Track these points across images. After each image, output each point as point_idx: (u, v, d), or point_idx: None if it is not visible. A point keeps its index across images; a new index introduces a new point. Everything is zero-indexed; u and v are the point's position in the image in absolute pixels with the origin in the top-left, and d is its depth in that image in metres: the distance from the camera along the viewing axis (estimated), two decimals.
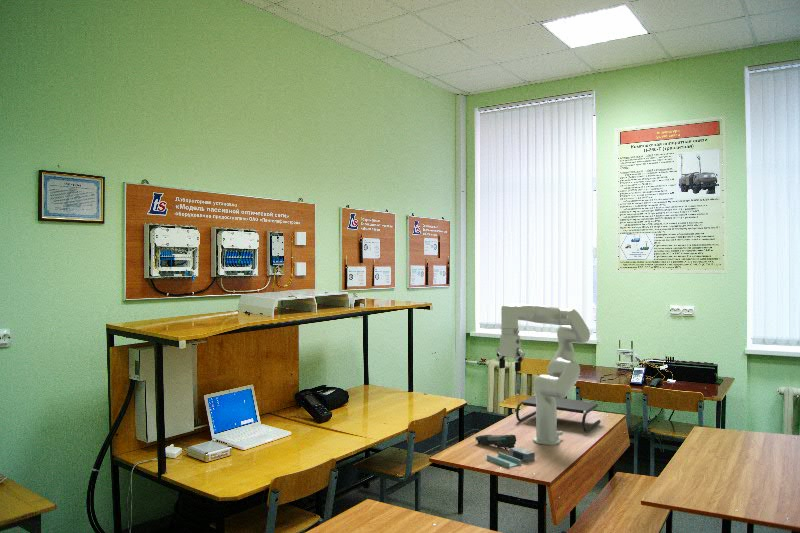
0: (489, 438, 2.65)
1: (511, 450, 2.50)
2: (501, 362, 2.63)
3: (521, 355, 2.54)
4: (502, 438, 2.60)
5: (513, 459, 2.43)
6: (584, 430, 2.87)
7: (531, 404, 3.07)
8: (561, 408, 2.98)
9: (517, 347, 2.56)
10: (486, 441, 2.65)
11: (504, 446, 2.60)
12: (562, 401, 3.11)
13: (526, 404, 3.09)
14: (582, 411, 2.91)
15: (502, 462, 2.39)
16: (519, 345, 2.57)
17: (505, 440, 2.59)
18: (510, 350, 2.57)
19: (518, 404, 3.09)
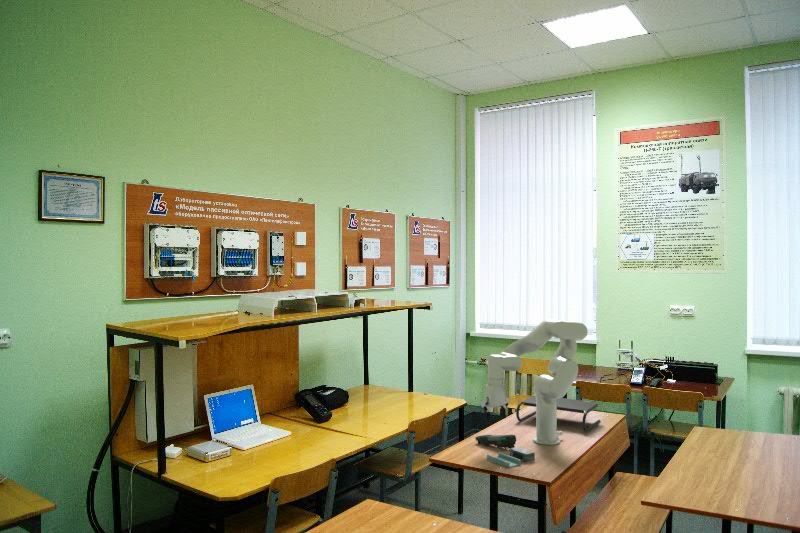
0: (489, 438, 2.65)
1: (511, 450, 2.50)
2: None
3: (507, 401, 2.68)
4: (502, 438, 2.60)
5: (513, 459, 2.43)
6: (584, 430, 2.88)
7: (531, 404, 3.07)
8: (561, 408, 2.98)
9: None
10: (486, 441, 2.65)
11: (504, 446, 2.60)
12: (562, 401, 3.12)
13: (526, 404, 3.09)
14: (582, 411, 2.92)
15: (502, 462, 2.39)
16: None
17: (505, 440, 2.59)
18: (502, 399, 2.64)
19: (518, 404, 3.09)
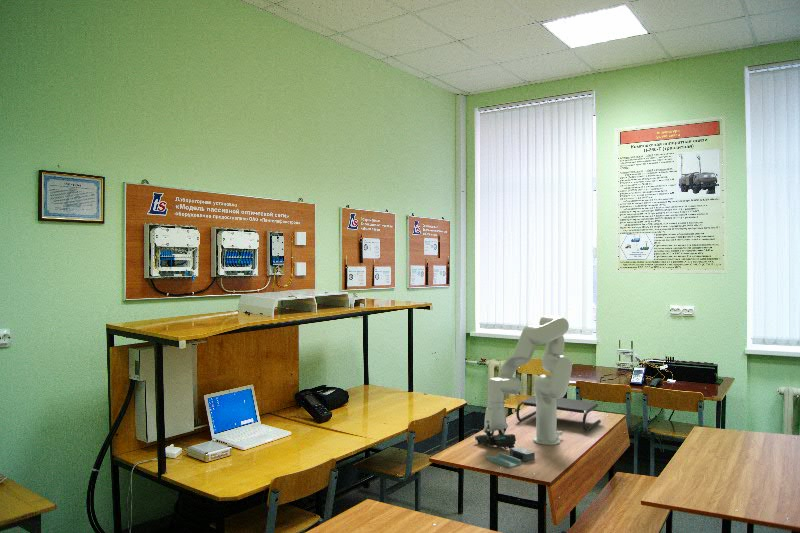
0: None
1: (511, 450, 2.50)
2: None
3: (506, 427, 2.67)
4: (502, 438, 2.60)
5: (513, 459, 2.43)
6: (584, 430, 2.88)
7: (531, 404, 3.08)
8: (561, 408, 2.98)
9: None
10: (486, 441, 2.65)
11: (504, 446, 2.60)
12: (562, 401, 3.12)
13: (526, 404, 3.09)
14: (582, 411, 2.92)
15: (502, 462, 2.39)
16: None
17: (505, 440, 2.58)
18: (503, 422, 2.64)
19: (518, 404, 3.09)
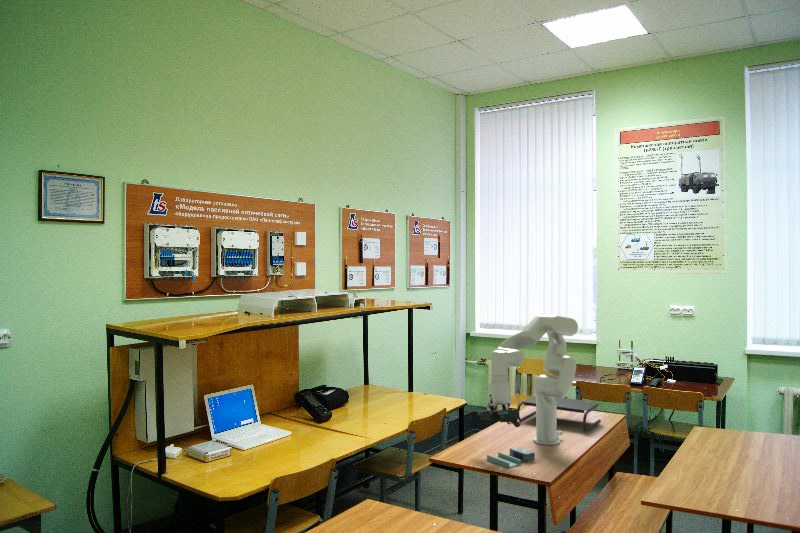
0: None
1: (511, 450, 2.50)
2: None
3: (510, 402, 2.56)
4: (504, 412, 2.49)
5: (513, 459, 2.43)
6: (585, 430, 2.88)
7: (532, 404, 3.08)
8: (562, 408, 2.98)
9: None
10: (488, 416, 2.55)
11: (507, 421, 2.49)
12: (562, 401, 3.12)
13: (527, 404, 3.09)
14: (583, 411, 2.92)
15: (502, 462, 2.39)
16: None
17: (507, 414, 2.48)
18: (507, 396, 2.53)
19: (519, 404, 3.09)
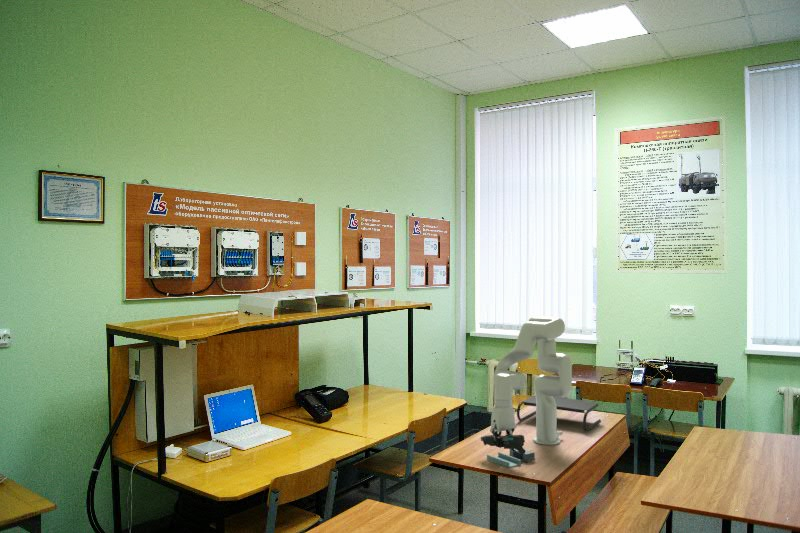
0: None
1: (511, 450, 2.50)
2: None
3: (514, 427, 2.46)
4: (509, 438, 2.39)
5: (513, 459, 2.43)
6: (585, 430, 2.88)
7: (532, 404, 3.08)
8: (562, 408, 2.99)
9: None
10: (492, 442, 2.45)
11: (511, 447, 2.39)
12: (563, 401, 3.12)
13: (527, 404, 3.10)
14: (583, 411, 2.92)
15: (502, 462, 2.39)
16: None
17: (512, 441, 2.38)
18: (511, 422, 2.43)
19: (519, 404, 3.09)
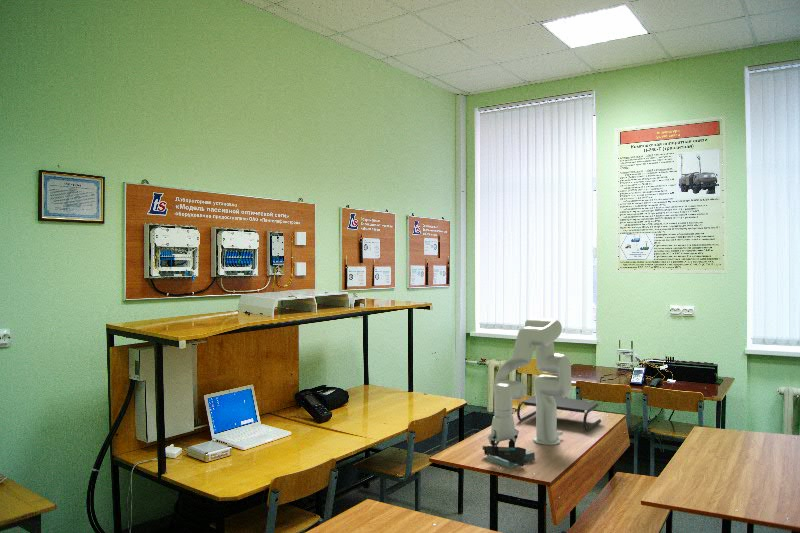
0: None
1: None
2: None
3: (517, 433, 2.47)
4: (511, 448, 2.40)
5: None
6: (585, 429, 2.88)
7: (532, 404, 3.08)
8: (562, 408, 2.99)
9: None
10: None
11: (511, 458, 2.39)
12: (563, 401, 3.12)
13: (527, 404, 3.10)
14: (583, 410, 2.93)
15: (502, 462, 2.39)
16: None
17: (514, 451, 2.38)
18: (511, 431, 2.43)
19: (519, 404, 3.10)
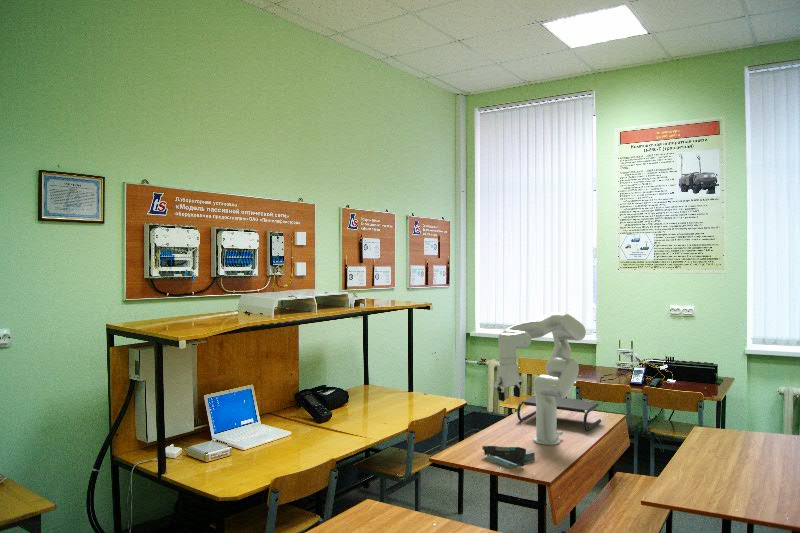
0: (497, 448, 2.45)
1: None
2: None
3: (521, 379, 2.60)
4: (511, 448, 2.40)
5: None
6: (585, 429, 2.89)
7: (532, 404, 3.08)
8: (562, 407, 2.99)
9: None
10: (493, 451, 2.45)
11: (511, 458, 2.39)
12: (563, 400, 3.13)
13: (527, 404, 3.10)
14: (583, 410, 2.93)
15: (502, 462, 2.39)
16: None
17: (514, 451, 2.38)
18: (516, 378, 2.56)
19: (519, 404, 3.10)
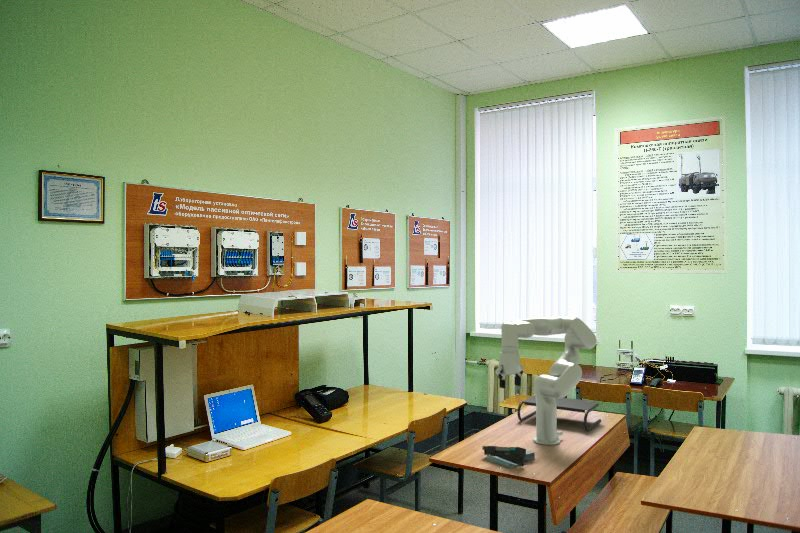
0: (497, 448, 2.45)
1: None
2: None
3: (522, 369, 2.67)
4: (511, 448, 2.40)
5: None
6: (586, 429, 2.89)
7: (532, 403, 3.08)
8: (562, 407, 2.99)
9: None
10: (493, 451, 2.45)
11: (511, 458, 2.39)
12: (563, 400, 3.13)
13: (527, 403, 3.10)
14: (583, 410, 2.93)
15: (502, 462, 2.39)
16: None
17: (514, 451, 2.38)
18: (517, 366, 2.62)
19: (519, 404, 3.10)
